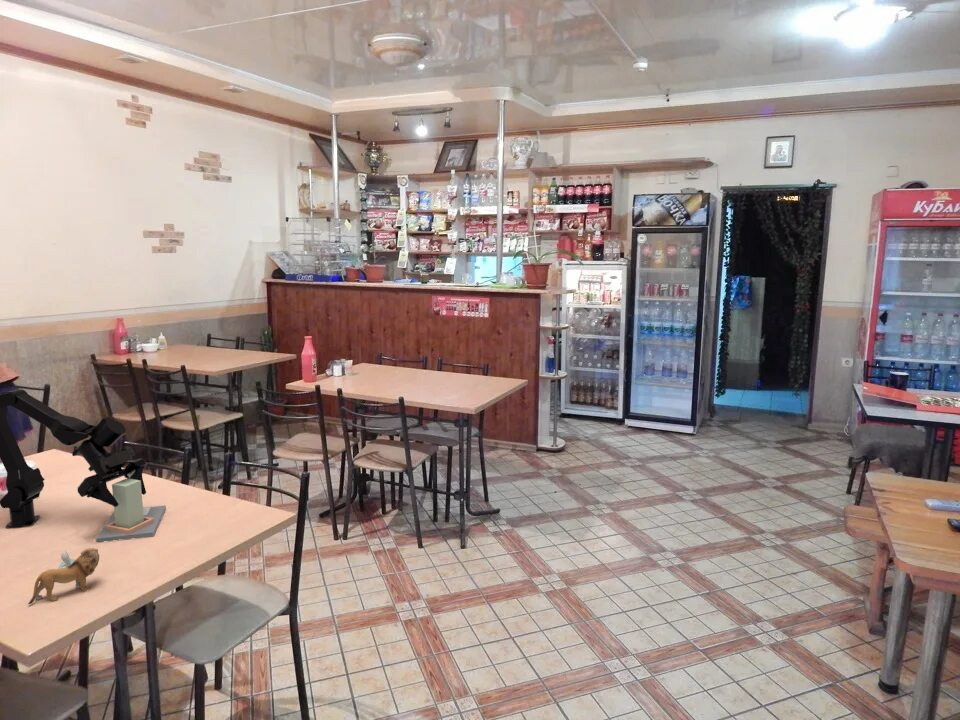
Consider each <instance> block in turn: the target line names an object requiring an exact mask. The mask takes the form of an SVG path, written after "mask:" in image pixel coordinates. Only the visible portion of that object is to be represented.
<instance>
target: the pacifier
mask: <svg viewBox="0 0 960 720" xmlns="http://www.w3.org/2000/svg"><path fill="white" fill-rule="evenodd" d="M60 556H61V561H62V562H61V563H60V564H59V565H58V569H61V568H65V567H68V566H70V565H71V564H72V563H73V562H74V561H75V560H76V559H71V558H70V554H69V552H68V551H67V550H63V552H61V555H60Z"/></svg>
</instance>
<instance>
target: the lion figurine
mask: <svg viewBox="0 0 960 720" xmlns="http://www.w3.org/2000/svg"><path fill="white" fill-rule="evenodd" d="M74 560H75V561H74V562H73V563H72V564H71V565H70V566H68V567H66V566H64V567H63V568H61V569H59V568H51V569H50V568H49V569H47V570H45V571H43V572H41V573H40V574H39V575H38V576H37V578H36V581H35V583H34V586H33V593H32V594H33V595H32V598H31V599H30V600H29V602H28V603H27V604H28V605H31V604H33V603H34V601H35V600H41V599H42V598H43V595H41V594H40V593H41V592H42V591H43V590H44V589H45V590H46V593H45V596H46V597H47V598H48V599H49V600H50V602H51V601H52V602H55V601H57V600H58V599H59V598H58V596H53V590H54V588H55V583H56V584H57V583H58V584H69V583H71V582H74V581H75V588H77V589H81V591H82V592H88V591H89V590H88V589H89V587H88V586H86V583H87V577H89V576H91V575H93V573H95V570H96V568H97V567H98V564H99V561H100V554H99V549H98V548H95V547H87V548H86V549H84V550H82V551H81V552H80V555H79V556H78V557H77V558H76V559H74ZM80 587H81V588H80ZM87 590H88V591H87Z"/></svg>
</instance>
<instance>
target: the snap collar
mask: <svg viewBox="0 0 960 720" xmlns="http://www.w3.org/2000/svg"><path fill="white" fill-rule="evenodd" d="M152 523H154V518H150V517H144V522H142V523H140V524H138V525H136V526H134V527H132V528H130V529H127V528H122V527H117V526H115V521H114V522H112V523H110V524H108V525H106V526H105V530H108V531H113V532H118V533H123V534H128V535H129V534H131V533H133V532H135V531H137V530H139V529H141V528H144V527H146V526H148V525H150V524H152Z"/></svg>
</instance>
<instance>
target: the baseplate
mask: <svg viewBox="0 0 960 720" xmlns="http://www.w3.org/2000/svg"><path fill="white" fill-rule="evenodd" d="M166 510H167V506H166V505H156V506H145V507H144V506H143V516H144V517H150V518H154V523H152V524H150V525H148V526H146V527H144V528H141V529H139V530H137V531H135V532H133V533H131V534H129V535H128V534H123V533H118V532H113V531H108V530H105V526H106V525H108V524H110V523H112V522H114V521H115V515H114V511H113V512H112V513H111V515H110V516H109V518H108V519H107V521H106V522H105V524H104V525H103V527H102V529H101V530H100V531H99V533H98V534H97V536H96V537H95V543H96V542H98V543H105V542H104V541H108V542H114V541H113V540H117V541H120V540H119V539H126V540H132V539H131V538H135V539H142V538H143V537H144V538H152V537H153V536H154V537H155V534H156V532H157V531H158V528H159V525H160V523H161V521H162V519H163V516H164V514H165V512H166ZM144 538H143V539H144Z"/></svg>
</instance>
